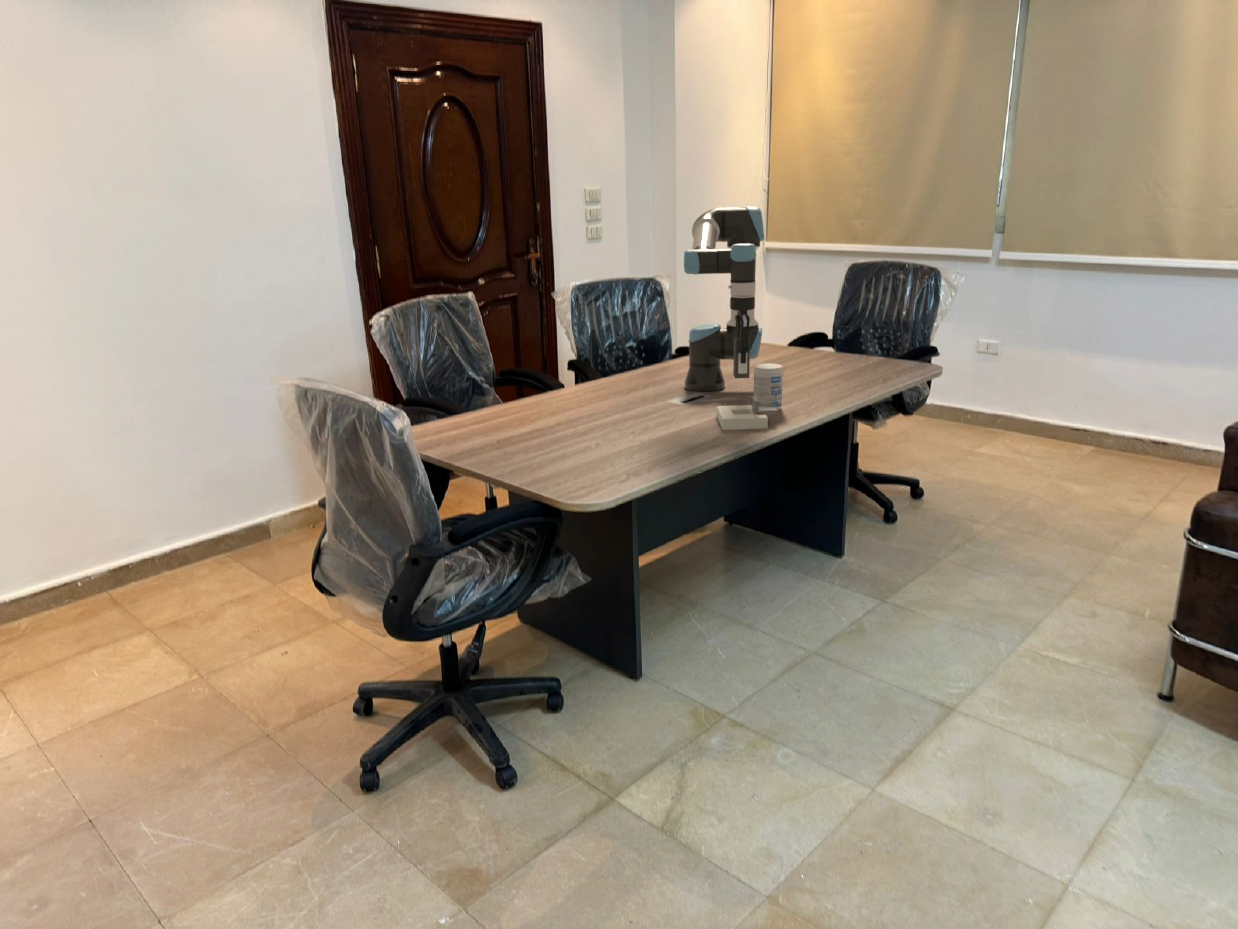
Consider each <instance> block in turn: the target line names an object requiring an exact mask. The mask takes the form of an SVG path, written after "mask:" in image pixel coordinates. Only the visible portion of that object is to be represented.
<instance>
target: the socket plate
mask: <svg viewBox="0 0 1238 929" xmlns="http://www.w3.org/2000/svg"><path fill="white" fill-rule="evenodd" d="M716 418H717V421H718V423H719V424H720V427H721V430H722V431H734V430H735V431H737V430H738V431H739V430H761V429H762V430H764V429H765V430H767V429H768V426H769V424H768V423H769V422H768V421H769V418H768V415H767V413H754V411H753V409H752V404H747V405H746V404H745V405H744V404H741V405H717V406H716Z"/></svg>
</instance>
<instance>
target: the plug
mask: <svg viewBox="0 0 1238 929" xmlns="http://www.w3.org/2000/svg"><path fill="white" fill-rule="evenodd" d="M737 351H739V338H734V360H733V367H732V368H733V370H732V371H733V372H732V373H733V377H734V379H749V378H750V360H751V359H750V339H749V351H748V352H747V373H743V374H738V353H737Z"/></svg>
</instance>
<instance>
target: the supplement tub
mask: <svg viewBox="0 0 1238 929" xmlns="http://www.w3.org/2000/svg"><path fill="white" fill-rule="evenodd" d="M783 376H784V370H783V365H781V364H778V363H757V364H756V365H754V369H753V396H752V397H756V398H757V399H758V401H759V405H774V406H775V408H776V409H777V411H779V410H781V409H782V406H783V404H782V403H783V401H782V400H783Z"/></svg>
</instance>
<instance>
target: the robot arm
mask: <svg viewBox="0 0 1238 929" xmlns="http://www.w3.org/2000/svg"><path fill="white" fill-rule="evenodd" d="M763 222H764V221H763V213H762V209H761V208H759V207H758V206H748V205H747V206H735V207H716V208H712V209H709V210H707V211H705V212H704V213H702V214H701V215H699V216H698V217H697V218H696V219H695V221H694V223H693V225H692V228H691V234H692V238H693V241H692V247H691V249H687V250H685V251H684V254H683V270H684V273H685V274H687V275H695V276H697V275H711V274H713V275H715V274H718V275H719V274H724V275H725V274H730V285H728V289H729V290H730V294H729V295H730V300H729V307H730V319H729V320H728V321H727V322H726V327H722V326H721V324H720V323H707V324H706V323H705V324H702V325H698V326H694V327H692V328H691V329H690V330H689V333H688V334H689V338H688V345H689V346H688V347H689V348H688V351H689V352H688V353H689V354H688V357H689V359H688V362H689V363H688V366H689V367H688V370H687V374H686V377H685V380H684V388H685V389H686V390H688V391H692V392H693V391H694V392H714V391H720V390H723V389H724V388H725V387H726V386H725V385H726V380H725V377H724V373H723V371H722V369H721V368H722V367H721V360H733V361H734V338H739V351H737V353H738V374H743V373H747V352H748V351H749V339H750V360H756V359H757V358H758V356H759V354H760V349H761V344H762V343H761V342H762V336H763V327H761V326H759V321H757V320H756V318H755V308H756V307H755V306H756V297H755V296H756V268H757V267H756V266H757V265H756V264H757V258H756V257H757V250H758V249H759V248H760V247H761V242H763V241H765V231H764V223H763ZM717 243H726V245H727V246H726V248H716V246H717V245H716V244H717Z"/></svg>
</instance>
